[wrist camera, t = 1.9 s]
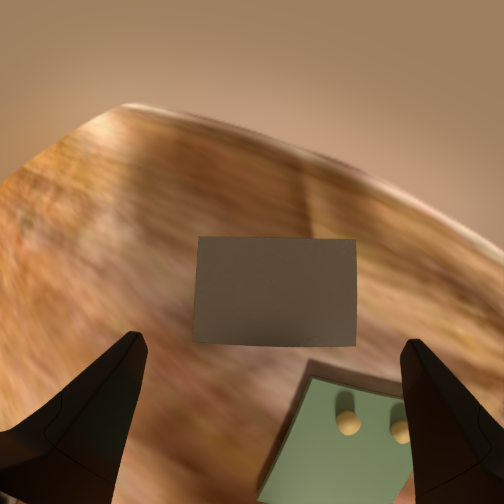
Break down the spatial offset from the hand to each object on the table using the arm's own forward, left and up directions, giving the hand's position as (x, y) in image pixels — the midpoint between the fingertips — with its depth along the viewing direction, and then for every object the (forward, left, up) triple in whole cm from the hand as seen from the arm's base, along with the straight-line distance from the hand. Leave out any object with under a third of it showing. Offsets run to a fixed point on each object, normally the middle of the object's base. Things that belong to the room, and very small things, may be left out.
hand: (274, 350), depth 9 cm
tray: (-5, -10, -11) cm, 16 cm away
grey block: (+2, +1, -11) cm, 11 cm away
